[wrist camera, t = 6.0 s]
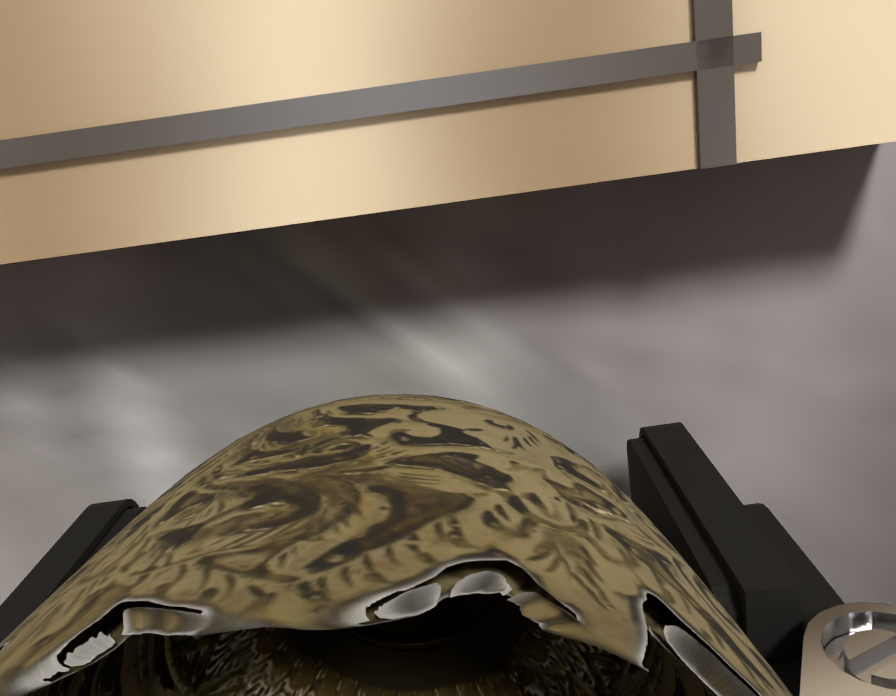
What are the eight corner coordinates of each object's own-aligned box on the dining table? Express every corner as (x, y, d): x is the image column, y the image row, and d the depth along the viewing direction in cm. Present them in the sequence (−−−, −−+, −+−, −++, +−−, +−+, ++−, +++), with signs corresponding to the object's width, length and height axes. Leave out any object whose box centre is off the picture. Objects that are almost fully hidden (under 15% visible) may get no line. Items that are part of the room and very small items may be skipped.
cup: (407, 777, 14) (369, 1600, 6) (74, 507, 12) (-529, 1166, 5) (744, 512, 12) (1230, 1155, 5) (415, 167, 11) (356, 308, 3)
